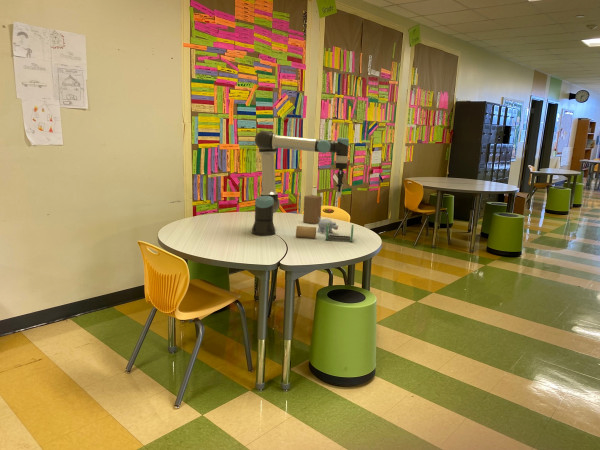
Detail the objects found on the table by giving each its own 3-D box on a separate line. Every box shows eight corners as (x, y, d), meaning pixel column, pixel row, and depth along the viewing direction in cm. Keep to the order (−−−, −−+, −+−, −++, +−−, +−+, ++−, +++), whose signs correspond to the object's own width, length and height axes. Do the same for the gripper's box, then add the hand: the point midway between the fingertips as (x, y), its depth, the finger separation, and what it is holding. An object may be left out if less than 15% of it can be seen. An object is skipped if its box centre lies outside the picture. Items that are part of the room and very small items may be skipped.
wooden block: (320, 222, 322) (322, 196, 318) (314, 224, 313) (315, 197, 309) (309, 220, 327) (310, 194, 323) (302, 222, 319) (303, 195, 315)
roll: (295, 237, 268) (296, 226, 267) (297, 235, 274) (297, 225, 273) (314, 239, 266) (315, 228, 265) (316, 237, 273) (316, 226, 272)
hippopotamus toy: (333, 235, 280) (334, 221, 278) (313, 232, 287) (314, 218, 286) (340, 232, 289) (341, 219, 287) (321, 229, 296) (322, 216, 295)
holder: (325, 240, 264) (326, 226, 262) (326, 236, 274) (327, 223, 272) (352, 242, 262) (353, 228, 260) (352, 238, 272) (353, 224, 270)
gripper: (347, 163, 260) (344, 198, 264) (347, 162, 285) (345, 193, 289) (334, 163, 261) (332, 197, 265) (336, 161, 285) (334, 193, 290)
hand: (339, 195), depth 277 cm, fingers open, 13 cm apart
